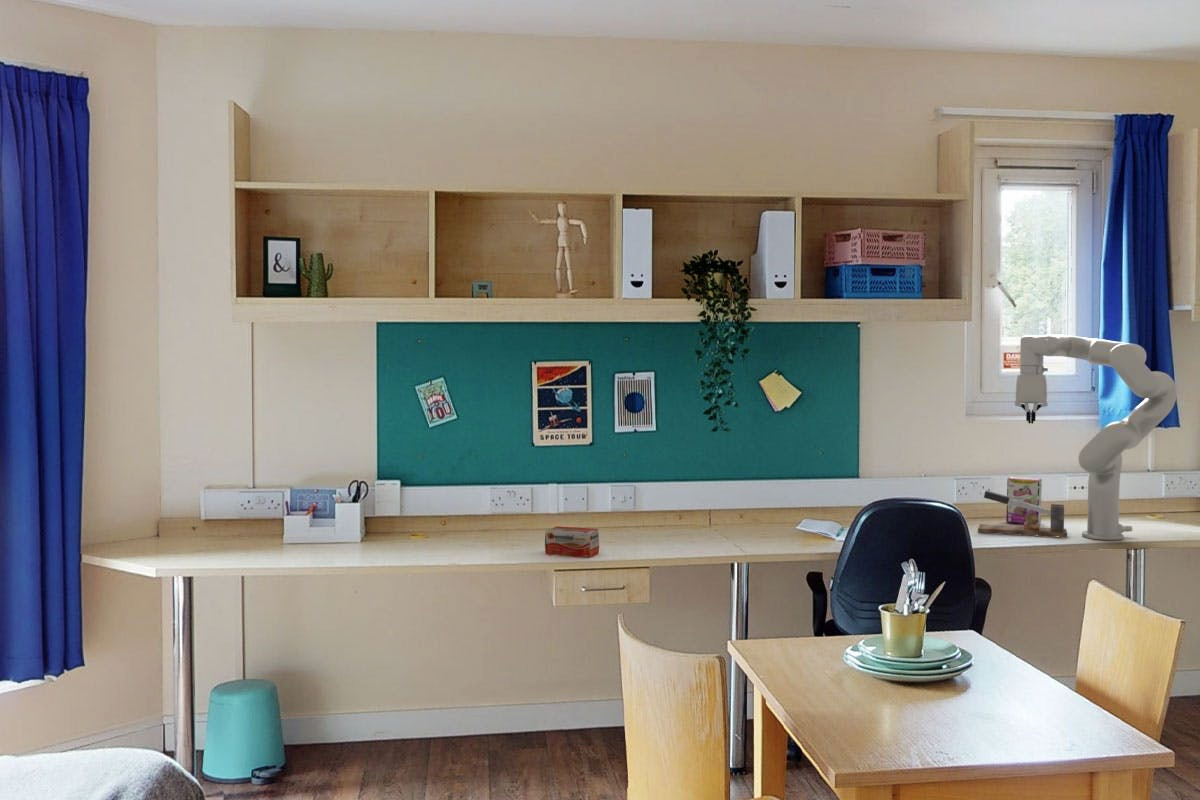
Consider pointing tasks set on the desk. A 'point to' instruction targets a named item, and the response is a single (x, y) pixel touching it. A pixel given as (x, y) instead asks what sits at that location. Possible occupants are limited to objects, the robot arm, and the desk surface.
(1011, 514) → the candy bar box
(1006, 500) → the lever
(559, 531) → the medicine box
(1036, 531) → the press base
